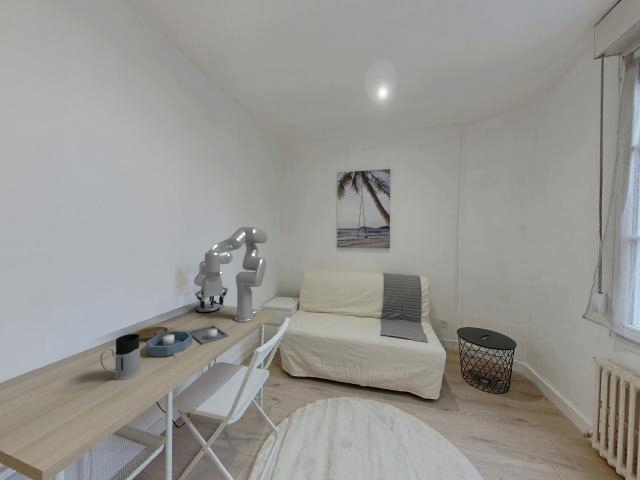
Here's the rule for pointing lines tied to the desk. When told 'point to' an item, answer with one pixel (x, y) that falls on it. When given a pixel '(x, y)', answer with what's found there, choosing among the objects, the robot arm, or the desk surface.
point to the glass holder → (126, 357)
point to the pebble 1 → (168, 340)
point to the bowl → (180, 344)
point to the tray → (202, 334)
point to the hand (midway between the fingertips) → (212, 306)
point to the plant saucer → (150, 332)
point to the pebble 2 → (211, 333)
